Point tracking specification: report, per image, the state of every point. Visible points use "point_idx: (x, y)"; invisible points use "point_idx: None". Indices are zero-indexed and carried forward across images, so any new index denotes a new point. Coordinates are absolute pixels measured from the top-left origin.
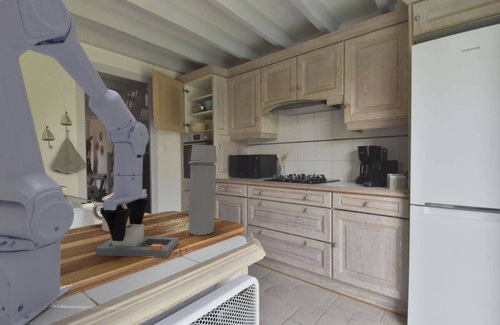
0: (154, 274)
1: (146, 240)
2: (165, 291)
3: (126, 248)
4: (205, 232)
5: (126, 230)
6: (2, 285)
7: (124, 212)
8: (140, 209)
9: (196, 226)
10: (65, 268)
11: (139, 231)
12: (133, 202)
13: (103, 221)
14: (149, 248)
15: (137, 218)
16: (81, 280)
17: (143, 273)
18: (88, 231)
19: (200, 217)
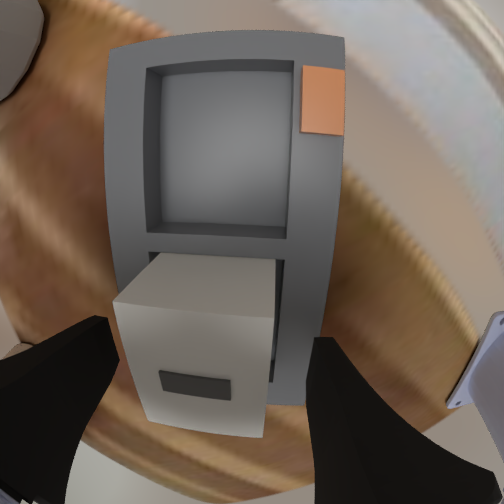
0: (457, 89)
1: (162, 231)
2: None
3: (317, 290)
4: (35, 5)
5: (267, 374)
6: None
7: (497, 489)
8: (22, 408)
9: (8, 32)
10: None
11: (202, 292)
12: (29, 484)
13: None
14: (314, 151)
15: (70, 375)
16: (461, 321)
17: (454, 133)
18: (108, 439)
19: None
